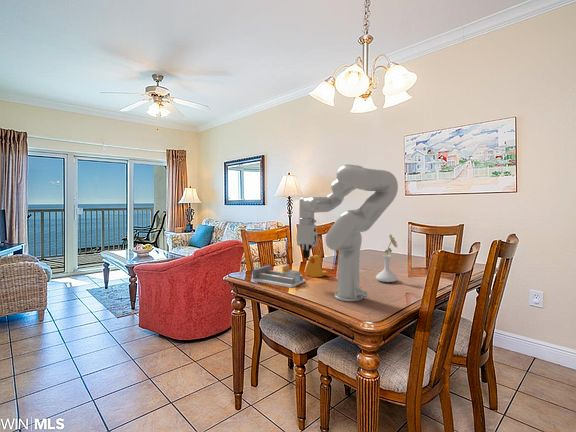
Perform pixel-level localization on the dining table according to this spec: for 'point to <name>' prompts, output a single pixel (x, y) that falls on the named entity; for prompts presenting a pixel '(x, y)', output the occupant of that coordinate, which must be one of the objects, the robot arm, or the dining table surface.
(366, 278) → the dining table surface
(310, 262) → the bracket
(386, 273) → the flower in vase
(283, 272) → the gauge carriage
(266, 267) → the scale board
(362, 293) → the robot arm
